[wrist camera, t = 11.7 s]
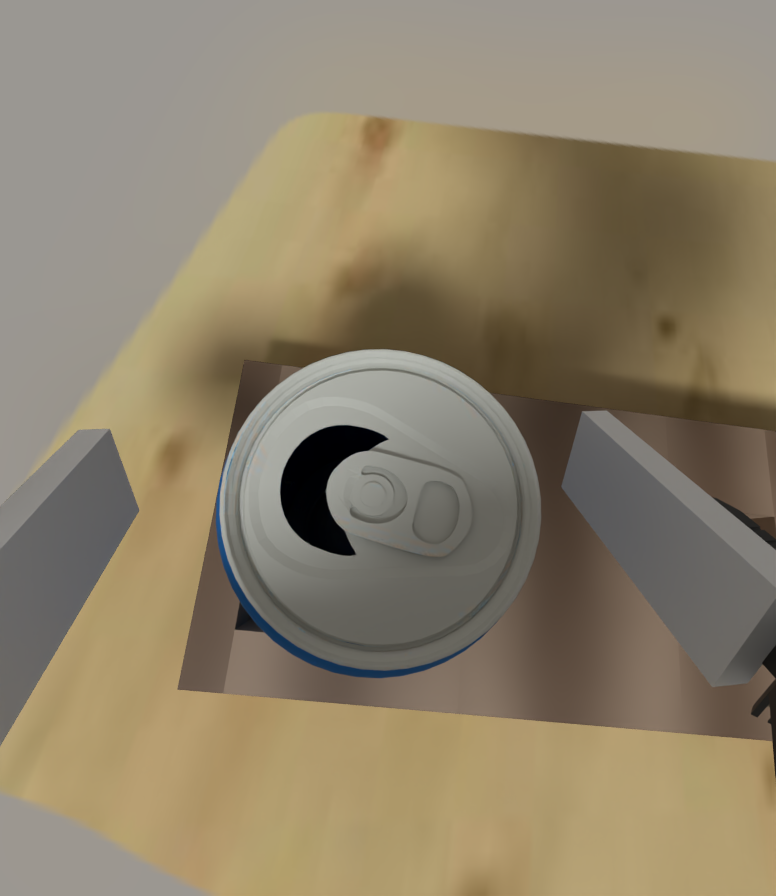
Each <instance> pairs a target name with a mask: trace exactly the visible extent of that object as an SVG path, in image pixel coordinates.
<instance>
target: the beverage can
mask: <svg viewBox="0 0 776 896" xmlns="http://www.w3.org/2000/svg"><path fill="white" fill-rule="evenodd" d="M540 526H541V496H540V489H539V482H538V477H537V473H536V469H535V466H534V462H533V459H532V456H531V454H530V451H529V449H528V447H527V444H526V442H525V440H524V438H523V436H522V434H521V433H520V431H519V429H518V427H517V426H516V424H515V422H514V421H513V420H512V418H511V417H510V416H509V414H508V413H507V412H506V410H505V409H504V408H503V406H502V405H501V404H500V403H499V402H498V401H497V400H496V399H495V398H494V397H493V396H492V395H491V394H490V393H489V392H488V391H487V390H486V389H484V388H483V387H482V386H481V385H480V384H478V383H477V382H476V381H475V380H473V379H472V378H470V377H469V376H467V375H465V374H464V373H462V372H461V371H459V370H457V369H455V368H453V367H451V366H449V365H447V364H445V363H443V362H441V361H438V360H435V359H433V358H430V357H427V356H424V355H420V354H416V353H411V352H407V351H399V350H390V349H366V350H358V351H351V352H345V353H342V354H338V355H334V356H330V357H327V358H325V359H322V360H320V361H317V362H315V363H312V364H310V365H308V366H306V367H304V368H302V369H301V370H299V371H297V372H295V373H293V374H292V375H291V376H289V377H288V378H286V379H285V380H284V381H282V382H281V383H280V384H278V385H277V386H276V387H275V388H274V389H273V390H271V391H270V392H269V393H268V394H267V395H266V396H265V397H264V398H263V399H262V400H261V401H260V402H259V404H258V405H257V406H256V407H255V409H254V410H253V411H252V412H251V413H250V415H249V416H248V418H247V419H246V421H245V423H244V424H243V426H242V427H241V429H240V431H239V432H238V434H237V436H236V439H235V441H234V443H233V445H232V447H231V450H230V452H229V455H228V457H227V459H226V462H225V465H224V468H223V472H222V475H221V478H220V483H219V489H218V495H217V501H216V530H217V539H218V547H219V551H220V555H221V559H222V563H223V567H224V569H225V572H226V574H227V577H228V579H229V582H230V584H231V587H232V589H233V590H234V592H235V594H236V596H237V597H238V599H239V601H240V603H241V604H242V606H243V608H244V609H245V610H246V612H247V613H248V614H249V615H250V617H251V618H252V619H253V621H254V622H255V623H256V625H257V626H258V627H259V628H260V629H261V630H263V631H264V632H265V633H266V634H267V635H268V636H269V637H270V638H271V639H272V640H273V641H274V642H275V643H277V644H278V645H280V646H281V647H282V648H284V649H285V650H286V651H288V652H289V653H291V654H292V655H294V656H296V657H298V658H300V659H302V660H303V661H305V662H307V663H309V664H311V665H313V666H316V667H319V668H322V669H325V670H328V671H330V672H333V673H338V674H343V675H348V676H353V677H363V678H388V677H399V676H405V675H409V674H413V673H417V672H421V671H425V670H427V669H430V668H432V667H435V666H437V665H440V664H442V663H445V662H447V661H448V660H450V659H452V658H454V657H455V656H457V655H459V654H461V653H462V652H464V651H465V650H467V649H468V648H469V647H470V646H472V645H473V644H474V643H476V642H477V641H478V640H480V639H481V638H482V637H483V636H484V635H485V634H486V633H487V632H488V631H489V630H490V629H491V628H492V627H493V626H494V625H495V624H496V623H497V621H498V620H499V619H500V618H501V617H502V616H503V615H504V613H505V612H506V611H507V609H508V608H509V607H510V605H511V604H512V603H513V601H514V600H515V599H516V597H517V595H518V594H519V592H520V590H521V588H522V586H523V584H524V583H525V581H526V579H527V576H528V574H529V571H530V569H531V566H532V564H533V561H534V558H535V554H536V550H537V545H538V541H539V535H540Z"/></svg>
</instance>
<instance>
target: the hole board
mask: <svg viewBox="0 0 776 896" xmlns="http://www.w3.org/2000/svg"><path fill="white" fill-rule="evenodd" d="M301 369H302V368H301V367H294V366H286V365H279V364H271V363H264V362H256V361H249V360H244V365H243V370H242V375H241V380H240V385H239V390H238V395H237V400H236V405H235V409H234V414H233V419H232V424H231V429H230V434H229V439H228V444H227V449H226V454H225V459H224V464H223V468H224V465H225V462H226V459H227V457H228V455H229V452H230V450H231V447H232V445H233V443H234V441H235V439H236V436H237V434H238V432H239V431H240V429H241V427H242V426H243V424H244V423H245V421H246V419H247V418H248V416H249V415H250V413H251V412H252V411H253V410H254V409H255V407H256V406H257V405H258V404H259V402H260V401H261V400H262V399H263V398H264V397H265V396H266V395H267V394H268V393H269V392H270V391H271V390H273V389H274V388H275V387H276V386H277V385H278V384H280V383H281V382H282V381H284V380H285V379H286V378H288V377H289V376H291V375H292V374H293V373H295V372H297V371H299V370H301ZM490 394H491V395H492V396H493V397H494V398H495V399H496V400H497V401H498V402H499V403H500V404H501V405H502V406H503V408H504V409H505V410H506V412H507V413H508V414H509V416H510V417H511V418H512V420H513V421H514V422H515V424H516V426H517V427H518V429H519V431H520V433H521V434H522V436H523V438H524V440H525V442H526V444H527V447H528V449H529V451H530V454H531V456H532V459H533V462H534V466H535V469H536V473H537V477H538V482H539V489H540V496H541V526H540V535H539V541H538V545H537V550H536V554H535V558H534V561H533V564H532V566H531V569H530V571H529V574H528V576H527V579H526V581H525V583H524V584H523V586H522V588H521V590H520V592H519V594H518V595H517V597H516V599H515V600H514V601H513V603H512V604H511V605H510V607H509V608H508V609H507V611H506V612H505V613H504V615H503V616H502V617H501V618H500V619H499V620H498V621H497V623H496V624H495V625H494V626H493V627H492V628H491V629H490V630H489V631H488V632H487V633H486V634H485V635H484V636H483V637H482V638H481V639H480V640H478V641H477V642H476V643H474V644H473V645H472V646H470V647H469V648H468V649H467V650H465V651H464V652H462V653H461V654H459V655H457V656H455V657H454V658H452V659H450V660H448V661H447V662H445V663H442V664H440V665H437V666H435V667H432V668H430V669H427V670H425V671H421V672H417V673H413V674H409V675H405V676H399V677H388V678H363V677H353V676H348V675H343V674H338V673H333V672H330V671H328V670H325V669H322V668H319V667H316V666H313V665H311V664H309V663H307V662H305V661H303V660H302V659H300V658H298V657H296V656H294V655H292V654H291V653H289V652H288V651H286V650H285V649H284V648H282V647H281V646H280V645H278V644H277V643H275V642H274V641H273V640H272V639H271V638H270V637H269V636H268V635H267V634H266V633H265V632H264V631H263V630H261V629H260V628H259V627H258V626H257V625H256V623H255V622H254V621H253V619H252V618H251V617H250V615H249V614H248V613H247V612H246V610H245V609H244V608H243V606H242V604H241V603H240V601H239V599H238V597H237V596H236V594H235V592H234V590H233V589H232V587H231V584H230V582H229V579H228V577H227V574H226V572H225V569H224V567H223V563H222V559H221V555H220V551H219V547H218V539H217V530H216V503H215V508H214V513H213V518H212V523H211V527H210V532H209V537H208V542H207V547H206V552H205V557H204V562H203V567H202V572H201V577H200V581H199V586H198V591H197V596H196V601H195V606H194V611H193V616H192V621H191V626H190V631H189V636H188V640H187V645H186V650H185V655H184V660H183V665H182V670H181V675H180V680H179V685H178V690H190V691H201V692H213V693H224V694H236V695H247V696H259V697H270V698H282V699H293V700H305V701H316V702H328V703H339V704H351V705H363V706H374V707H386V708H397V709H409V710H420V711H432V712H443V713H455V714H466V715H478V716H489V717H501V718H512V719H524V720H536V721H547V722H559V723H570V724H582V725H593V726H605V727H616V728H628V729H639V730H651V731H662V732H674V733H685V734H697V735H709V736H720V737H732V738H743V739H755V740H766V741H773V740H772V728H771V724H770V723H767V722H768V720H769V719H770V718H771V716H770V707H766V708H765V710H764V711H763V712H762V713H761V714H760V715H759V716H758V718H757V717H755V716H753V715H751V711H752V707H753V705H754V704H755V703H756V701H757V700H758V699H759V698H760V697H761V695H762V694H763V693H764V692H765V691H766V689H767V688H768V687H769V686H770V685H771V683H772V682H773V681H774V680H775V679H776V678H775V677H774V676H773V675H772V674H771V673H770V672H769V671H768V670H767V668H766V667H765V666H764V665H763V664H762V666H761V667H760V668H759V669H758V671H757V672H756V673H755V675H754V676H753V677H752V678H751V680H750V681H749V682H748V683H746V684H736V685H727V686H718V687H712V686H711V685H710V683H709V682H708V681H707V679H706V678H705V677H704V675H703V674H702V673H701V671H700V670H699V669H698V667H697V666H696V665H695V663H694V662H693V661H692V660H691V658H690V657H689V656H688V654H687V653H686V652H685V650H684V649H683V648H682V646H681V645H680V644H679V642H678V641H677V640H676V638H675V637H674V636H673V634H672V633H671V632H670V630H669V629H668V628H667V626H666V625H665V624H664V622H663V621H662V620H661V618H660V617H659V616H658V614H657V613H656V612H655V611H654V609H653V608H652V607H651V605H650V604H649V603H648V601H647V600H646V599H645V597H644V596H643V595H642V593H641V592H640V591H639V589H638V588H637V587H636V585H635V584H634V583H633V581H632V580H631V579H630V577H629V576H628V575H627V573H626V572H625V571H624V569H623V568H622V567H621V566H620V564H619V563H618V562H617V560H616V559H615V558H614V556H613V555H612V554H611V552H610V551H609V550H608V548H607V547H606V546H605V544H604V543H603V542H602V540H601V539H600V538H599V536H598V535H597V534H596V532H595V531H594V530H593V528H592V527H591V526H590V524H589V523H588V522H587V520H586V519H585V518H584V517H583V515H582V514H581V513H580V511H579V510H578V509H577V507H576V506H575V505H574V503H573V502H572V501H571V499H570V498H569V497H568V495H567V494H566V493H565V491H564V490H563V489H562V487H561V486H562V482H563V479H564V475H565V471H566V468H567V464H568V461H569V457H570V453H571V450H572V446H573V443H574V439H575V435H576V432H577V428H578V425H579V421H580V417H581V414H582V411H606V410H607V411H608V412H609V413H610V414H612V415H613V416H614V417H615V418H616V419H618V420H619V421H620V422H621V423H622V424H624V425H625V426H626V427H627V428H629V429H630V430H631V431H632V432H633V433H635V434H636V435H637V436H638V437H639V438H641V439H642V440H643V441H644V442H646V443H647V444H648V445H649V446H650V447H652V448H653V449H654V450H655V451H656V452H658V453H659V454H660V455H661V456H662V457H664V458H665V459H666V460H667V461H669V462H670V463H671V464H672V465H673V466H675V467H676V468H677V469H678V470H679V471H681V472H682V473H683V474H684V475H685V476H687V477H688V478H689V479H690V480H692V481H693V482H694V483H695V484H696V485H698V486H699V487H700V488H701V489H702V490H704V491H705V492H706V493H707V494H708V495H710V496H711V497H712V498H717V499H719V500H721V501H723V502H725V503H727V504H729V505H731V506H733V507H734V508H736V509H738V510H740V511H741V512H743V513H744V514H745V515H746V516H748V517H749V518H750V519H751V520H753V521H754V522H755V523H756V524H758V525H759V526H760V529H761V530H765V531H766V532H768V533H769V534H770V535H771V536H773V537H774V538H775V539H776V431H770V430H763V429H755V428H748V427H740V426H733V425H725V424H718V423H711V422H703V421H696V420H688V419H681V418H673V417H666V416H658V415H651V414H644V413H636V412H629V411H621V410H614V409H606V408H599V407H591V406H584V405H577V404H569V403H562V402H554V401H547V400H539V399H532V398H524V397H517V396H510V395H502V394H495V393H490ZM223 468H222V472H223ZM221 475H222V473H221ZM218 489H219V488H218ZM217 495H218V493H217ZM216 501H217V498H216Z"/></svg>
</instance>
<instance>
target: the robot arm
mask: <svg viewBox="0 0 776 896" xmlns="http://www.w3.org/2000/svg"><path fill="white" fill-rule="evenodd" d="M561 487H562V489H563V490H564V491H565V493H566V494H567V495H568V497H569V498H570V499H571V501H572V502H573V503H574V505H575V506H576V507H577V509H578V510H579V511H580V513H581V514H582V515H583V517H584V518H585V519H586V520H587V522H588V523H589V524H590V526H591V527H592V528H593V530H594V531H595V532H596V534H597V535H598V536H599V538H600V539H601V540H602V542H603V543H604V544H605V546H606V547H607V548H608V550H609V551H610V552H611V554H612V555H613V556H614V558H615V559H616V560H617V562H618V563H619V564H620V566H621V567H622V568H623V569H624V571H625V572H626V573H627V575H628V576H629V577H630V579H631V580H632V581H633V583H634V584H635V585H636V587H637V588H638V589H639V591H640V592H641V593H642V595H643V596H644V597H645V599H646V600H647V601H648V603H649V604H650V605H651V607H652V608H653V609H654V611H655V612H656V613H657V614H658V616H659V617H660V618H661V620H662V621H663V622H664V624H665V625H666V626H667V628H668V629H669V630H670V632H671V633H672V634H673V636H674V637H675V638H676V640H677V641H678V642H679V644H680V645H681V646H682V648H683V649H684V650H685V652H686V653H687V654H688V656H689V657H690V658H691V660H692V661H693V662H694V663H695V665H696V666H697V667H698V669H699V670H700V671H701V673H702V674H703V675H704V677H705V678H706V679H707V681H708V682H709V683H710V685H711V686H712V687H718V686H727V685H736V684H746V683H748V682H749V681H750V680H751V678H752V677H753V676H754V675H755V673H756V672H757V671H758V669H759V668H760V667H761V666H762V664H763V665H764V666H765V667H766V668H767V670H768V671H769V672H770V673H771V674H772V675H773V676H774V677H775V678H776V539H775V538H774V537H773V536H771V535H770V534H769V533H768V532H766V531H765V530H761V529H760V526H759V525H758V524H756V523H755V522H754V521H753V520H751V519H750V518H749V517H748V516H746V515H745V514H744V513H743V512H741V511H740V510H738V509H736V508H734V507H733V506H731V505H729V504H727V503H725V502H723V501H721V500H719V499H717V498H712V497H711V496H710V495H708V494H707V493H706V492H705V491H704V490H702V489H701V488H700V487H699V486H698V485H696V484H695V483H694V482H693V481H692V480H690V479H689V478H688V477H687V476H685V475H684V474H683V473H682V472H681V471H679V470H678V469H677V468H676V467H675V466H673V465H672V464H671V463H670V462H669V461H667V460H666V459H665V458H664V457H662V456H661V455H660V454H659V453H658V452H656V451H655V450H654V449H653V448H652V447H650V446H649V445H648V444H647V443H646V442H644V441H643V440H642V439H641V438H639V437H638V436H637V435H636V434H635V433H633V432H632V431H631V430H630V429H629V428H627V427H626V426H625V425H624V424H622V423H621V422H620V421H619V420H618V419H616V418H615V417H614V416H613V415H612V414H610V413H609V412H608V411H607V410H606V411H582V414H581V417H580V421H579V425H578V428H577V432H576V435H575V439H574V443H573V446H572V450H571V453H570V457H569V461H568V464H567V468H566V471H565V475H564V479H563V482H562V486H561ZM138 512H139V508H138V505H137V503H136V500H135V497H134V494H133V492H132V489H131V486H130V483H129V481H128V478H127V475H126V472H125V470H124V467H123V464H122V461H121V459H120V456H119V453H118V450H117V448H116V445H115V442H114V439H113V437H112V434H111V431H110V429H90V430H78V431H77V432H76V433H75V434H74V435H73V436H72V437H71V438H70V439H69V440H68V441H67V442H66V443H65V444H64V445H63V446H62V447H61V448H60V449H59V450H57V451H56V452H55V453H54V454H53V455H52V456H51V457H50V458H49V459H48V460H47V461H46V462H45V463H44V464H43V465H42V466H41V467H40V468H39V469H38V470H37V471H36V472H35V473H34V474H33V475H32V476H31V477H30V478H29V479H28V480H27V481H26V482H25V483H24V484H22V485H21V486H20V487H19V488H18V489H17V490H16V491H15V492H14V493H13V494H12V495H11V496H10V497H9V498H8V499H7V500H6V501H5V502H4V503H3V504H2V505H1V506H0V746H1V744H2V742H3V740H4V739H5V737H6V735H7V734H8V732H9V730H10V729H11V727H12V725H13V724H14V722H15V720H16V718H17V717H18V715H19V713H20V712H21V710H22V708H23V707H24V705H25V703H26V701H27V700H28V698H29V696H30V695H31V693H32V691H33V690H34V688H35V686H36V685H37V683H38V681H39V679H40V678H41V676H42V674H43V673H44V671H45V669H46V668H47V666H48V664H49V663H50V661H51V659H52V657H53V656H54V654H55V652H56V651H57V649H58V647H59V646H60V644H61V642H62V640H63V639H64V637H65V635H66V634H67V632H68V630H69V629H70V627H71V625H72V624H73V622H74V620H75V618H76V617H77V615H78V613H79V612H80V610H81V608H82V607H83V605H84V603H85V602H86V600H87V598H88V596H89V595H90V593H91V591H92V590H93V588H94V586H95V585H96V583H97V581H98V579H99V578H100V576H101V574H102V573H103V571H104V569H105V568H106V566H107V564H108V563H109V561H110V559H111V557H112V556H113V554H114V552H115V551H116V549H117V547H118V546H119V544H120V542H121V541H122V539H123V537H124V535H125V534H126V532H127V530H128V529H129V527H130V525H131V524H132V522H133V520H134V518H135V517H136V515H137V513H138ZM766 707H770V716H771V718H770V719H769V720H768V722H767V723H770V724H771V728H772V740H773V752H774V764H775V776H776V679H775V680H774V681H773V682H772V683H771V685H770V686H769V687H768V688H767V689H766V691H765V692H764V693H763V694H762V695H761V697H760V698H759V699H758V700H757V701H756V703H755V704H754V705H753V707H752V711H751V715H753V716H755V717H757V718H758V716H759V715H760V714H761V713H762V712H763V711H764V710H765V708H766Z"/></svg>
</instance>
